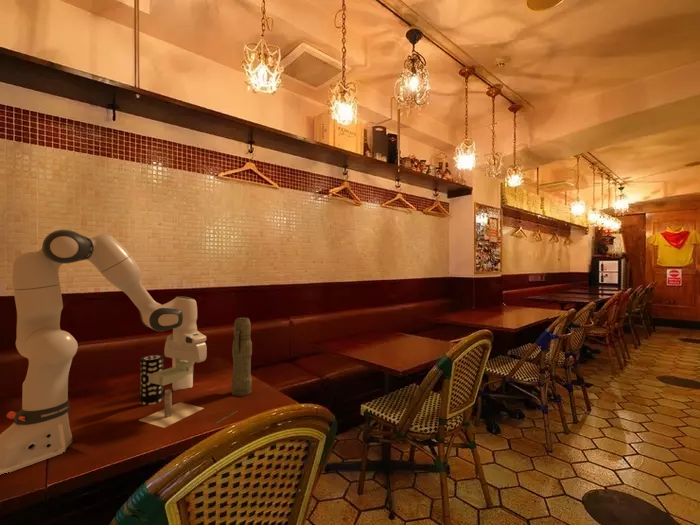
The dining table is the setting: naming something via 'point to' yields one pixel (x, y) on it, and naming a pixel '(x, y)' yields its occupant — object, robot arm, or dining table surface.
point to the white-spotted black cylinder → (148, 391)
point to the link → (170, 374)
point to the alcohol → (182, 380)
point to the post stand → (170, 412)
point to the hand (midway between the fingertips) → (184, 370)
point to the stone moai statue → (242, 357)
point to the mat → (225, 417)
